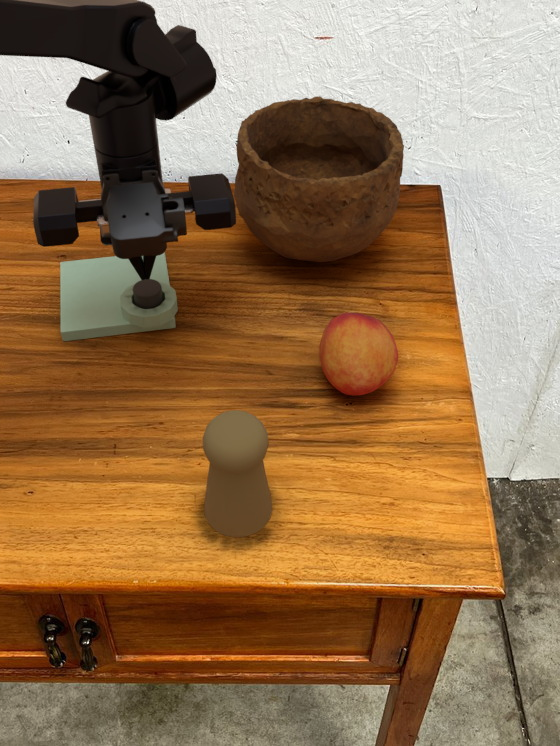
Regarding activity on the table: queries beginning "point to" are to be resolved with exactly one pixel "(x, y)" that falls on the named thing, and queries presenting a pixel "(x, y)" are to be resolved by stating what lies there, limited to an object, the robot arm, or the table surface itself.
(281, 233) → the bowl
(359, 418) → the table surface
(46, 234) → the robot arm
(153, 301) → the dark brown cylinder
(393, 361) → the fruit
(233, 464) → the brown game pawn
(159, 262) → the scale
